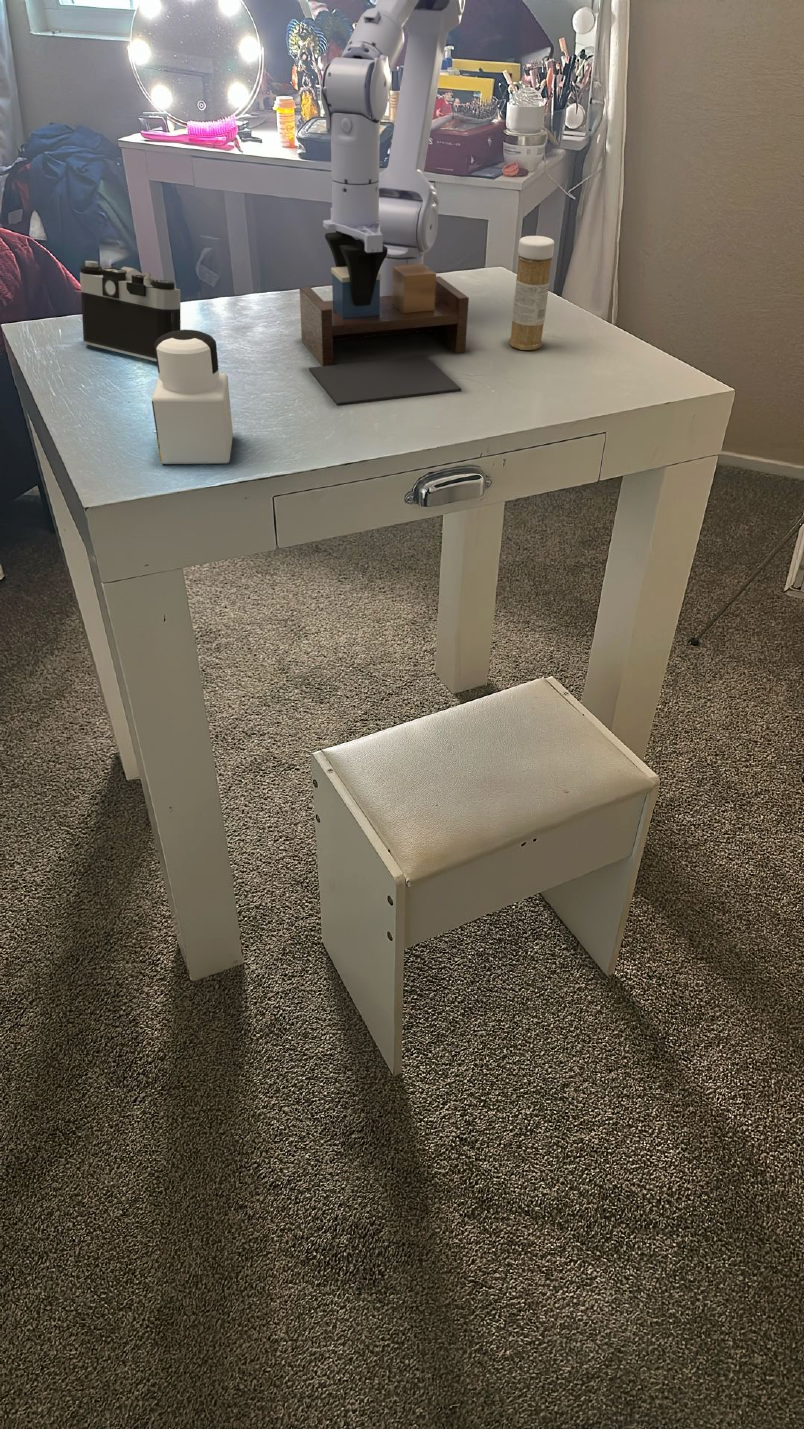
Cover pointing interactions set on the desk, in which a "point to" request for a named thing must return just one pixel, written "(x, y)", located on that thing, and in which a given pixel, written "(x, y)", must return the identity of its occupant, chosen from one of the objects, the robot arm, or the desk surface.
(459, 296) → the shelf
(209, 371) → the medicine bottle
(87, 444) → the desk surface
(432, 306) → the tan box
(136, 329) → the camera
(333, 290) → the blue box
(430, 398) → the desk surface
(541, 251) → the sprinkles bottle
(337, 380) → the mat
